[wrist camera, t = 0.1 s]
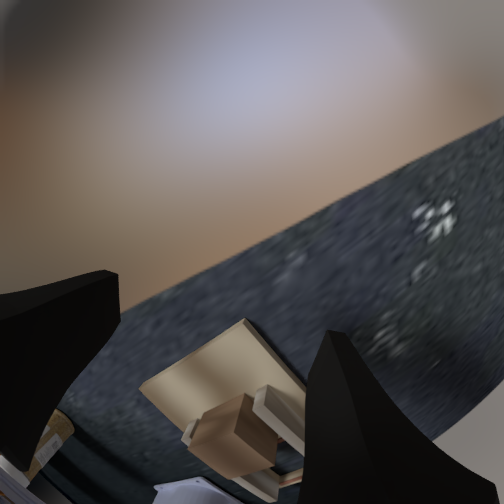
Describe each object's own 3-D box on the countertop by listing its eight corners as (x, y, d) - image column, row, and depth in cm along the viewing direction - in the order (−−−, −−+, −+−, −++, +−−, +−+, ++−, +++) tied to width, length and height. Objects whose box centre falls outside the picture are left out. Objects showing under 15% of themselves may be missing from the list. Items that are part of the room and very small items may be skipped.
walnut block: (237, 442, 22) (228, 479, 17) (203, 412, 21) (187, 449, 17) (279, 425, 21) (274, 465, 16) (244, 392, 20) (233, 432, 16)
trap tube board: (264, 486, 24) (261, 509, 21) (143, 382, 23) (125, 405, 20) (363, 447, 21) (368, 473, 18) (245, 317, 20) (235, 340, 17)
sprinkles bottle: (52, 401, 27) (-9, 458, 14) (78, 425, 27) (22, 488, 14) (48, 414, 28) (-6, 467, 15) (72, 436, 28) (22, 494, 15)
